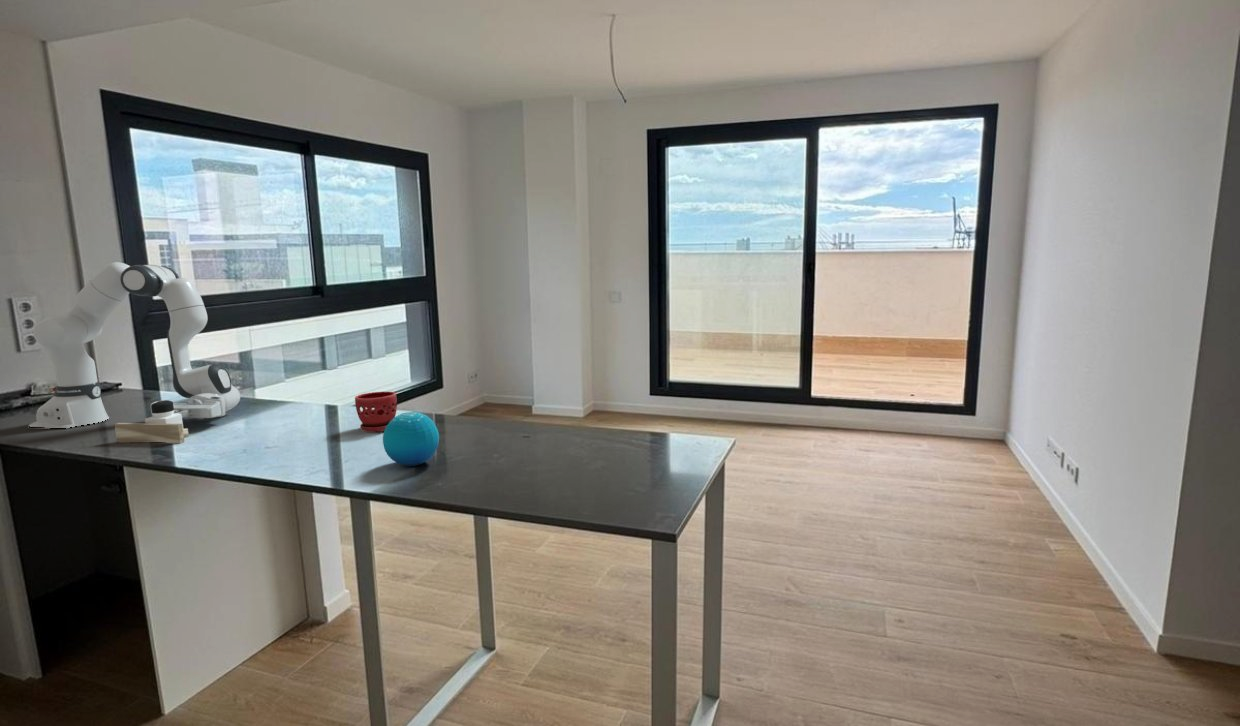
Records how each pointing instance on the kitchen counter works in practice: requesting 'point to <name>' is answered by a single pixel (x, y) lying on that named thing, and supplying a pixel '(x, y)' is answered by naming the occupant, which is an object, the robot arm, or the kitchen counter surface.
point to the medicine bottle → (164, 413)
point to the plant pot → (376, 410)
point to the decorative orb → (410, 438)
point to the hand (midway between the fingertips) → (171, 416)
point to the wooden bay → (150, 432)
